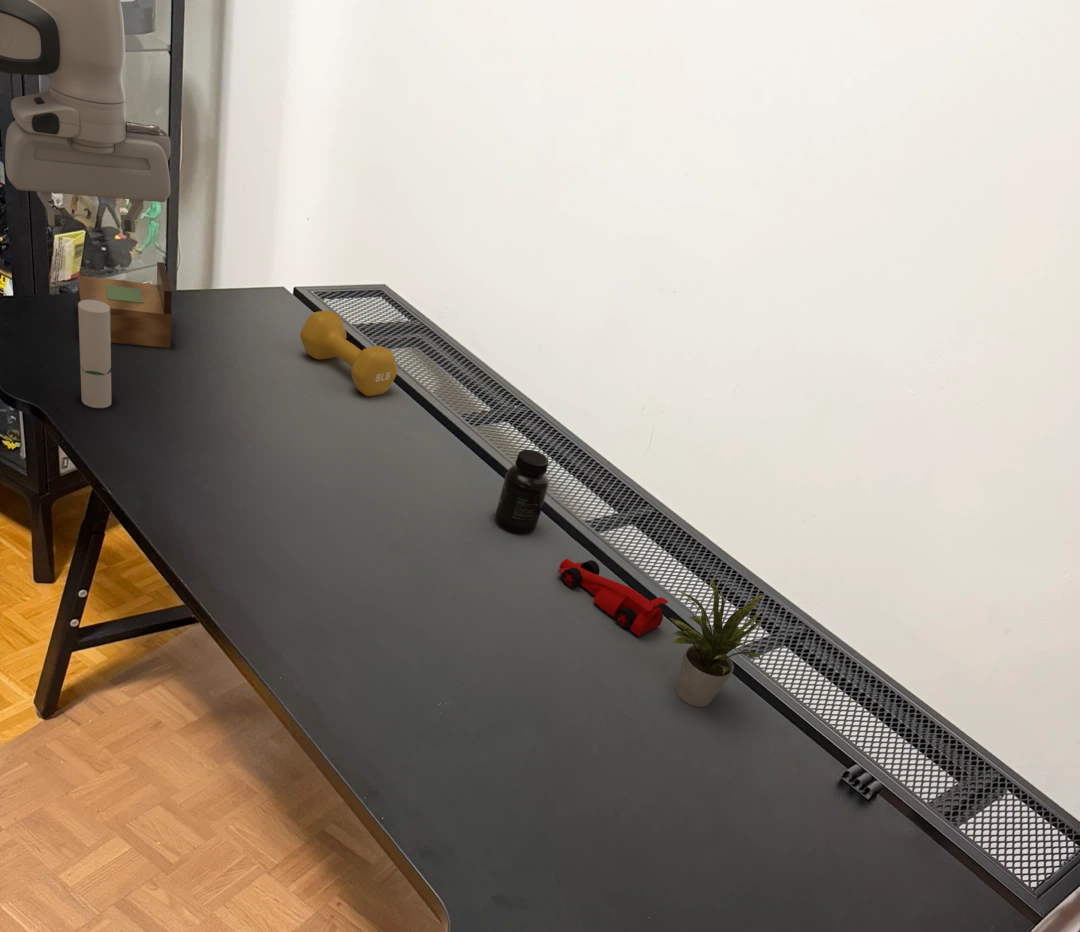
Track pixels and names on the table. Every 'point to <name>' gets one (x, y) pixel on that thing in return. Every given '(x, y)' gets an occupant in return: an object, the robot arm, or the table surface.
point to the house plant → (711, 650)
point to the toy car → (614, 597)
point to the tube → (95, 353)
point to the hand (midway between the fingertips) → (92, 228)
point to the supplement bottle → (523, 493)
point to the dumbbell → (349, 353)
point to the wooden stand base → (134, 308)
